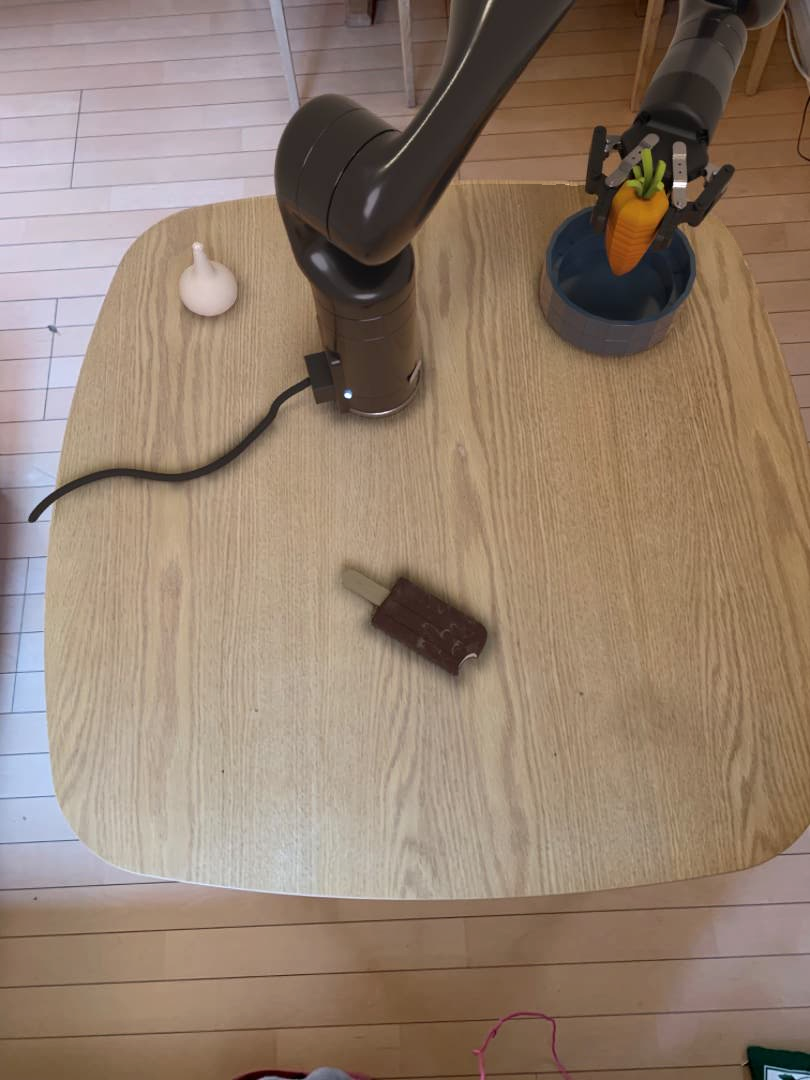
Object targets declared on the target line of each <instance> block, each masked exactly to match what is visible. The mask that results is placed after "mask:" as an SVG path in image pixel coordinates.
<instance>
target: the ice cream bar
mask: <svg viewBox="0 0 810 1080" xmlns="http://www.w3.org/2000/svg"><path fill="white" fill-rule="evenodd" d="M341 580H342V583H343V585H344V586H345V587H346V588H348V589H349V590H351V591H353V592H354V593H356V594H357V595H359V596H361V597H362V598H364V599H366V600H367V601H369V602H370V603H372V604H374V605H376V606H377V607H378V608H377V609H376V610H375V612H374V615H373V616H372V618H371V619H370V623H371V625H372V626H374V627H375V628H376V629H378V630H380V631H381V632H383V633H385V634H387V635H388V636H390V637H391V638H393V639H395V640H396V641H398V642H400V643H401V644H402V645H404V646H406V647H408V648H409V649H410V650H411V651H413V652H416V653H417V654H419V655H421V656H422V657H423V658H425V659H427V660H428V661H430V662H432V663H433V664H435V665H436V666H438V667H440V668H442V669H443V670H445V671H447V672H448V673H450V674H451V675H453V676H455V677H457V676H458V675H459V673H460V671H459V670H460V668H461V667H462V665H463V664H464V662H465V661H466V660H468V659H470V658H475V659H478V658H479V657H480V655H481V653H482V651H483V650H484V648H485V647H486V643H487V640H488V631H487V629H486V627H485V626H484V625H483V623H481V622H479V621H478V620H476V619H474V618H472V617H470V616H469V615H467V614H465V613H464V612H462V611H460V610H459V609H457V608H455V607H454V606H452V605H451V604H449V603H447V602H445V601H444V600H442V599H440V598H439V597H437V596H436V595H434V594H432V593H430V592H429V591H427V590H425V589H423V588H422V587H420V586H419V585H417V584H415V583H413V582H412V581H410V580H409V579H407V578H406V577H403V576H402V575H401V576H399V578H398V579H397V581H395V583H394V585H393V587H392V589H391V590H388V589H387V588H385V587H383V586H381V585H380V584H378V583H377V582H375V581H373V580H372V579H370V578H368V577H366V576H365V575H363V574H361V573H360V572H358V571H356V570H354V569H349V570H346V571H345V572H344V573H343V574H342V578H341Z"/></svg>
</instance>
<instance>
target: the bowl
mask: <svg viewBox="0 0 810 1080" xmlns="http://www.w3.org/2000/svg"><path fill="white" fill-rule="evenodd" d="M594 206H595V205H591V206H590V205H589V206H587V207H584V208H582V209H580V210H578V211H576V212H574V213H573V214H571V215H570V216H568V217H566V218H565V219H564V221H562V222H561V224H560V225H559V226H557V228H556V229H555V230H554V231H553V233H552V235H551V237H550V240H549V241H548V244H547V247H546V249H545V254H544V260H543V264H542V270H541V274H540V275H541V276H540V281H539V304H540V307H541V309H542V312H543V314H544V317H545V319H546V321H547V322H548V323H549V325H550V326H551V327H552V328H553V329H554V331H555V332H556V333H557V334H558V336H560V337H561V338H563V339H564V340H566V341H568V342H569V343H571V344H572V345H573V346H575V347H577V348H578V349H581V350H585V351H588V352H590V353H594V354H597V355H601V356H602V355H603V356H627V355H630V354H634V353H639V352H643V351H646V350H648V349H650V348H651V347H653V346H654V345H656V344H658V343H660V342H661V341H663V340H664V339H665V338H666V337H667V336H668V334H669V333H670V332H671V331H672V330H673V329H674V327H675V326H676V324H677V323H678V321H679V319H680V317H681V315H682V312H683V310H684V308H685V306H686V303H687V302H688V299H689V297H690V296H691V293H692V289H693V287H694V284H695V280H696V278H697V262H696V261H697V260H696V254H695V251H694V249H693V246H692V245H691V242H690V240H689V238H688V236H687V235H686V234H685V233H684V232H683V231H682V230H681V228H679V226H677V228H676V231H675V233H674V236H673V238H672V241H671V243H670V246H669V247H668V248H667V249H666V250H664V249H661V248H660V250H659V253H658V254H656V253H653V252H651V249H652V247H653V244H654V241H655V239H656V237H655V238H654V240H653V242H652V243H651V245H650V246H649V248H648V249H647V251H646V252H645V253H644V255H643V256H642V258H641V259H640V261H639V262H638V263H637V265H636V266H635V267H634V268H633V269H632V270H630V271H629V272H627V273H625V274H624V275H620V276H617V275H615V274H614V273H613V271H612V269H611V267H610V264H609V261H608V257H607V253H606V228H607V222H608V219H607V222H606V224H605V226H604V228H603V231H602V233H601V235H598V234H595V233H593V232H594V228H595V227H593V226H590V219H591V215H592V211H593V209H594ZM659 229H660V228H659ZM656 236H657V235H656Z"/></svg>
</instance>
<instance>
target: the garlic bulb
mask: <svg viewBox="0 0 810 1080" xmlns="http://www.w3.org/2000/svg"><path fill="white" fill-rule="evenodd" d="M191 248H192V255H193V257H192V258H193V263H192V264H190V265H188V267H186V268H185V269H184V271H183V272H182V273H181V275H180V278H179V280H178V293H179V297H180V299H181V301H182V303H183V305H185V307H186V308H187V309H189V310H190V311H191V312H193V313H194V314H197V315H200V316H204V317H214V316H218V315H221V314H223V313H225V312H227V311H228V310H229V309H230V308H232V306H233V305H234V304H235V302H236V300H237V297H238V289H239V288H238V283H237V279H236V277H235V275H234V273H233V272H232V271H231V269H230V268H228V267H227V266H226V265H224V264H223V263H221V262H218V261H215V260H210V259H209V256H208V255H207V252H206V251H205V248H204V244H203V243H202V242H199V241H195V242H193V243H192V246H191Z"/></svg>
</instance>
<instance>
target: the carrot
mask: <svg viewBox="0 0 810 1080" xmlns="http://www.w3.org/2000/svg"><path fill="white" fill-rule="evenodd" d="M641 154H642V162H643V167H644V178H643V176H642V172H641V169H640V167H639V166H634V167H633V171H634V174H635V177H636V179H634V180H628V181H625V183H624V184H623V185H622V187H621V188H620V189H619V191H618V192H617V194H616V195H615V196H614V198H613V200H612V205H611V209H610V213H609V217H608V222H607V228H606V253H607V257H608V261H609V264H610V267H611V269H612V271H613V273H614V274H615V275H617V276H620V275H624V274H625V273H627V272H629V271H630V270H632V269H633V268H634V267H635V266H636V265H637V263H638V262H639V261H640V259H641V258H642V256H643V255H644V253H645V252H646V251H647V249H648V248H649V246H650V245H651V243H652V242H653V240H654V238H655V237H656V235H657V233H658V231H659V228H660V226H661V224H662V221H663V219H664V216H665V214H666V211H667V209H668V206H669V202H668V199H667V196H666V194H665V191H664V188H663V187H664V184H663V183H662V182H661V180H662V177H663V174H664V171H665V168H666V164H665V163H664V162H663V161H662V160H659V162H658V165H657V168H656V172H655V175H654V178H653V180H652V175H653V164H652V156H651V150H650V149H646V148H645V149H643V150H641Z"/></svg>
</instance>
